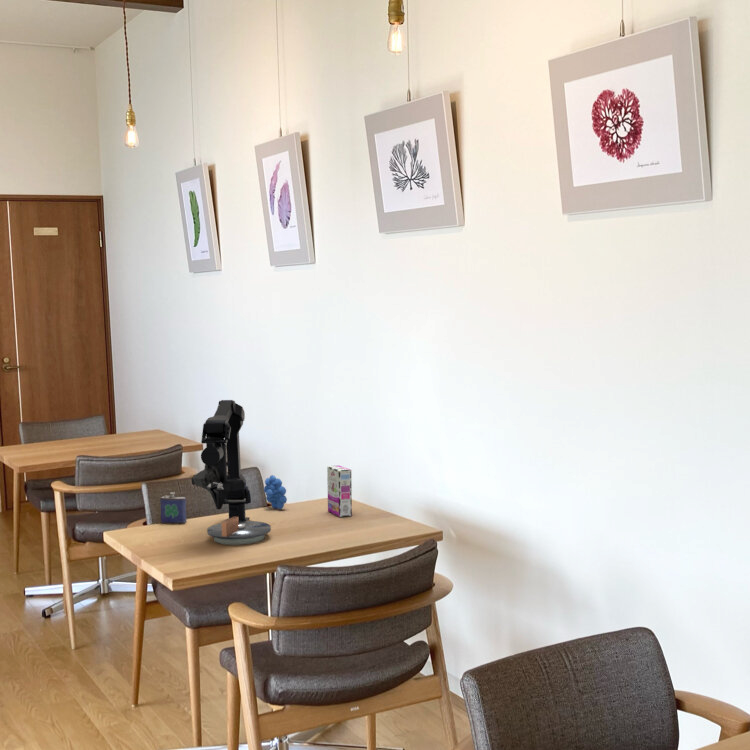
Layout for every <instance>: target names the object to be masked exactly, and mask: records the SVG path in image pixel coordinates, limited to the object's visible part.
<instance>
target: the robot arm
mask: <svg viewBox="0 0 750 750" xmlns="http://www.w3.org/2000/svg"><path fill="white" fill-rule="evenodd" d="M245 418H246V416H245V410H244V407H243V405H240V404H238V403H237V402H236V401H235V400H233V399H221V400H219V401H218V404H217V408H216V411H215V413H214V415H213V416H210V417H208V418H207V419H206V420H205V422H203V425H202V433H201V441H200V443H201V444H205V445H206V446H205V448H204V449H203V450H202V451H201V454H200V460H201V461H202V464H204V469H203V470H201V471H198V473H196V474H193V476H192V478H191V485H194V486H195V487H200V488H201V489H204V490H206V491H207V492H209V493H210V495H211V497H212V500H213V503H214V506H215V507H216V510H222V508H223V505H227V507H228V508H227V509H228V518H227V519H225V520H224V521H226V520H228V519H230V518H232V517H234V516H237V517H238V518H239V521H249V520H250V517H248V516H246V505H249V504H251V502H252V498H251V491H250V489H249V486H248V485H247V480H246V478H245V477H244V475H243V474H242V469H241V467H242V466H241V448H240V431H241V429H242V427H243V426H244V421H245Z"/></svg>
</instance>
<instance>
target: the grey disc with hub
mask: <svg viewBox="0 0 750 750" xmlns="http://www.w3.org/2000/svg"><path fill="white" fill-rule="evenodd" d="M227 519H228V520H227ZM227 519H225V520H226V521H225V520H224V521H222V522H220V523H216V524H213V525H210V526H208V527H207V529H206V531H207V533H206V535H208V536H210V537H212V538H214V537H215V538H221V539H245V538H253V537H258V536H262V535H265V536H266V535H267V534H268V533H269V534H270V532H271V531H272V529H271V528H272V527H271V524H269V523H267V522H263V521H255V520H246V521H239V518H238V517H237V516H234V517H232V518H230V519H229V518H227Z"/></svg>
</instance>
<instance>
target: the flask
mask: <svg viewBox="0 0 750 750" xmlns="http://www.w3.org/2000/svg"><path fill="white" fill-rule="evenodd" d="M175 494H176V492H175V491H173V492H169V495H167V494H165V495H164V496H161V497H160V498H159V500H160V503H159V505H160V524H162V525H163V524H166V525H168V524H167V523H171V524H170V525H186V524H187V519H188V518H187V499H186V497H185V496H175ZM185 523H186V524H185Z"/></svg>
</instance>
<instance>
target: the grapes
mask: <svg viewBox="0 0 750 750" xmlns="http://www.w3.org/2000/svg"><path fill="white" fill-rule="evenodd" d="M264 484H265V486H264V487H263V492H264V493H265V495H266V498H265V499H266V501H267V502H268V503H270V505H271V507H272V508H273V509H275V508H276V509H279V510H283V509H284V508H285V505H286V503H287V501H288V499H287V496H286V493H287V489H286V487H284V485H283V481H282V480H281V479H280V478H277V477H276V476H275V475H270V476H269V477H267V478H266V479H265V481H264Z"/></svg>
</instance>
